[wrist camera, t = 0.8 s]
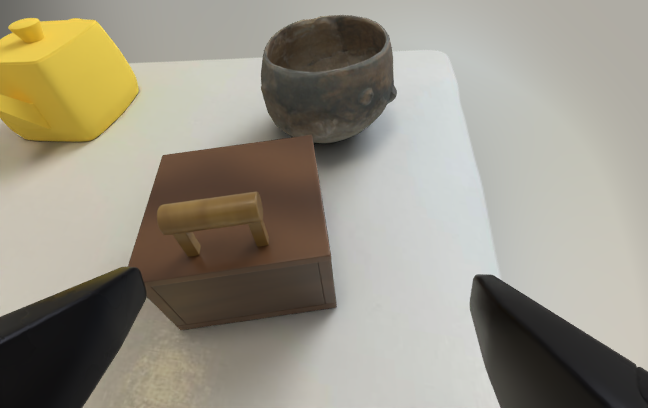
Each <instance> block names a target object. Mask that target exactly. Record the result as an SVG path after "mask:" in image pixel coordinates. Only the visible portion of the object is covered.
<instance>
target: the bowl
mask: <svg viewBox="0 0 648 408" xmlns="http://www.w3.org/2000/svg"><path fill="white" fill-rule="evenodd" d="M261 84H262V86H261V90H262V93H263V97H264V101H265V104H266V107H267V110H268V113H269V115H270V116H271V118H272V120H273V121H274V123H275V124H276V125H277V126H278V127H279V128H280V129H281V130H282V131H284V132H285V133H287V134H288V135H291V136H293V137H299V136H306V135H312V137H313V142H315V143H332V142H337V141H341V140H344V139H347V138H350V137H352V136H354V135H356V134H358V133H360V132H361V131H363V130H364V129H365V128H367V127H368V126H369V125H370V124H371V123H373V122H374V121H375V120H376V119H377V118H378V117H379V116H380V115H381V113H382V112H383V111H384V109H385V107H386V105H387V104H388V103H390V102H391V101H393V100H394V99H395V97H396V94H397V91H396V89H395V86H394V80H393V55H392V47H391V43H390V38H389V35H388V34H387V32H386V31H385V29H384V28H383V27H382V26H381V25H380V24H378V23H377V22H375V21H372V20H370V19H367V18H362V17H356V16H349V15H347V16H346V15H334V16H320V17H318V18H315V19H309V20H301V21H297V22H295V23H293V24H290V25H288V26H287V27H285V28H283V29H281V30H280V31H278V32H277V33H276V34H275V35H274V36H272V37H271V39H270V40H269V42H268V43H267V45H266V47H265V50H264V54H263V60H262V70H261Z"/></svg>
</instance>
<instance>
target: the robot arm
mask: <svg viewBox="0 0 648 408" xmlns="http://www.w3.org/2000/svg"><path fill="white" fill-rule="evenodd" d="M146 295H147V292H146V288H145V285H144V281H143V278H142V274H141V271H140V270H139V269H138V268H137V267H121V268H118V269H116V270H114V271H111V272H109V273H106V274H104V275H101V276H99V277H96V278H94V279H92V280H89V281H87V282H84V283H82V284H79V285H77V286H75V287H72V288H70V289H67V290H65V291H62V292H60V293H57V294H55V295H53V296H50V297H48V298H45V299H43V300H40V301H38V302H36V303H33V304H31V305H28V306H26V307H23V308H21V309H18V310H16V311H14V312H11V313H9V314H6V315H4V316H1V317H0V408H82V407H83V406H84V404H85V403H86V401H87V400H88V398H89V396H90V395H91V393H92V392H93V390H94V389H95V387H96V386H97V384H98V382H99V381H100V379H101V378H102V376H103V375H104V373H105V372H106V370H107V369H108V367H109V365H110V364H111V362H112V361H113V359H114V358H115V356H116V354H117V353H118V351H119V349H120V348H121V346H122V344H123V342H124V340H125V338H126V337H127V335H128V333H129V331H130V329H131V327H132V325H133V323H134V321H135V319H136V317H137V315H138V313H139V312H140V310H141V308H142V306H143V304H144V302H145V300H146ZM470 311H471V315H472V319H473V322H474V326H475V330H476V334H477V338H478V342H479V346H480V349H481V353H482V357H483V361H484V364H485V368H486V370H487V373H488V376H489V379H490V381H491V384H492V386H493V389H494V392H495V394H496V397H497V399H498V402H499V405H500V407H501V408H648V372H647V371H646V370H644V369H643V368H641V367H636V364H634V363H633V362H631V361H630V360H628V359H626V358H625V357H623V356H622V355H620V354H619V353H617V352H615V351H613V350H612V349H611V348H609V347H607V346H606V345H604V344H602V343H601V342H599V341H597V340H596V339H594V338H593V337H591V336H590V335H588V334H586V333H585V332H583V331H582V330H580V329H578V328H577V327H575V326H574V325H572V324H570V323H569V322H567V321H566V320H564V319H562V318H561V317H559V316H558V315H556V314H554V313H553V312H551V311H550V310H548V309H546V308H545V307H543V306H542V305H540V304H538V303H537V302H535V301H533V300H532V299H530V298H529V297H527V296H526V295H524V294H522V293H521V292H519V291H518V290H516V289H514V288H513V287H511V286H510V285H508V284H506V283H505V282H503V281H502V280H500V279H498V278H497V277H495V276H493V275H475V277H474V279H473V284H472V290H471V297H470Z"/></svg>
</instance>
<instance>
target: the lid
mask: <svg viewBox="0 0 648 408" xmlns="http://www.w3.org/2000/svg"><path fill="white" fill-rule="evenodd" d="M325 261H331V253H330V247H329V240H328V234H327V227H326V221H325V214H324V208H323V202H322V195H321V189H320V182H319V176H318V170H317V163H316V157H315V150H314V144H313V137H312V135H306V136H299V137H292V138H285V139H277V140H270V141H263V142H255V143H248V144H241V145H234V146H226V147H219V148H212V149H205V150H197V151H190V152H183V153H175V154H168V155H163V156H162V159H161V162H160V165H159V169H158V172H157V175H156V178H155V181H154V185H153V188H152V191H151V194H150V197H149V201H148V204H147V207H146V210H145V213H144V217H143V220H142V223H141V226H140V229H139V233H138V236H137V239H136V242H135V245H134V249H133V252H132V255H131V258H130V261H129V265H128V267H137V268H138V269H139V270H140V271H141V274H142V278H143V281H144V285H145V287H152V286H159V285H166V284H173V283H179V282H186V281H193V280H200V279H207V278H214V277H221V276H228V275H235V274H242V273H249V272H255V271H262V270H269V269H276V268H283V267H290V266H297V265H304V264H311V263H318V262H325Z"/></svg>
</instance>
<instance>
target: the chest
mask: <svg viewBox="0 0 648 408" xmlns="http://www.w3.org/2000/svg"><path fill="white" fill-rule="evenodd" d="M145 288H146V292H147V295H146V297H147V298H148V299H149V300H150V301H151V302H152V303H153V304H155V305H156V306H157V307H158V308H159V309H160V310H161V311H162V312H163V313H164V314H165V315H166V316H167V317H168V318H169V319H170V320H171V321H172V322H173V323H174V324H175V325H176V326H177V327H178V328H179V329H180V330H186V329H193V328H200V327H207V326H214V325H220V324H227V323H234V322H241V321H247V320H254V319H261V318H268V317H275V316H281V315H288V314H295V313H302V312H309V311H315V310H322V309H329V308H336V307H337V306H336V297H335V289H334V280H333V272H332V264H331V261H325V262H318V263H311V264H304V265H297V266H290V267H283V268H276V269H269V270H262V271H255V272H249V273H242V274H235V275H228V276H221V277H214V278H207V279H200V280H193V281H186V282H179V283H173V284H166V285H159V286H152V287H145Z"/></svg>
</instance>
